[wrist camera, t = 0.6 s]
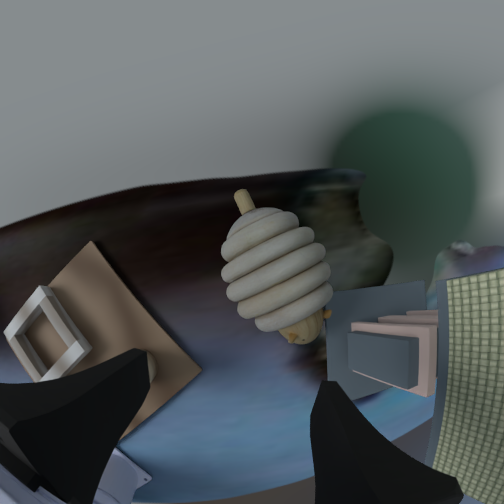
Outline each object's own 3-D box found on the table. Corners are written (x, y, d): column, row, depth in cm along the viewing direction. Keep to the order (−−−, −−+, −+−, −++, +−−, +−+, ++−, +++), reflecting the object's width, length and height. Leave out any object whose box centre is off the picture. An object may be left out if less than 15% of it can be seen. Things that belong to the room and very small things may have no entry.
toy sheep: (259, 357, 31) (286, 383, 20) (187, 233, 32) (180, 198, 21) (330, 311, 33) (382, 311, 22) (263, 195, 34) (288, 150, 24)
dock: (101, 452, 24) (93, 464, 21) (9, 338, 25) (-5, 340, 22) (202, 368, 29) (202, 375, 26) (93, 241, 30) (83, 235, 26)
